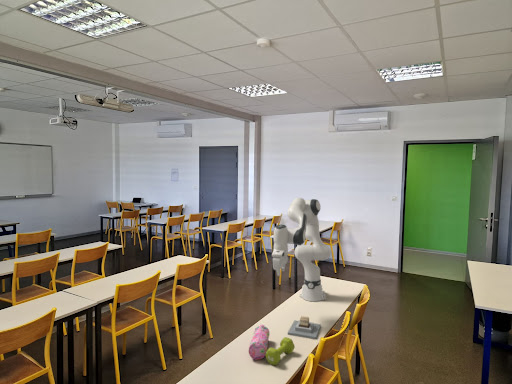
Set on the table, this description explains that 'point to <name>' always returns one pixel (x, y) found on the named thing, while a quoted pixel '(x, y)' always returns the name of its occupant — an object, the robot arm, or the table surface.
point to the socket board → (304, 330)
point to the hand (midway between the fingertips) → (280, 273)
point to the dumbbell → (279, 351)
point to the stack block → (304, 322)
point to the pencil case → (259, 342)
